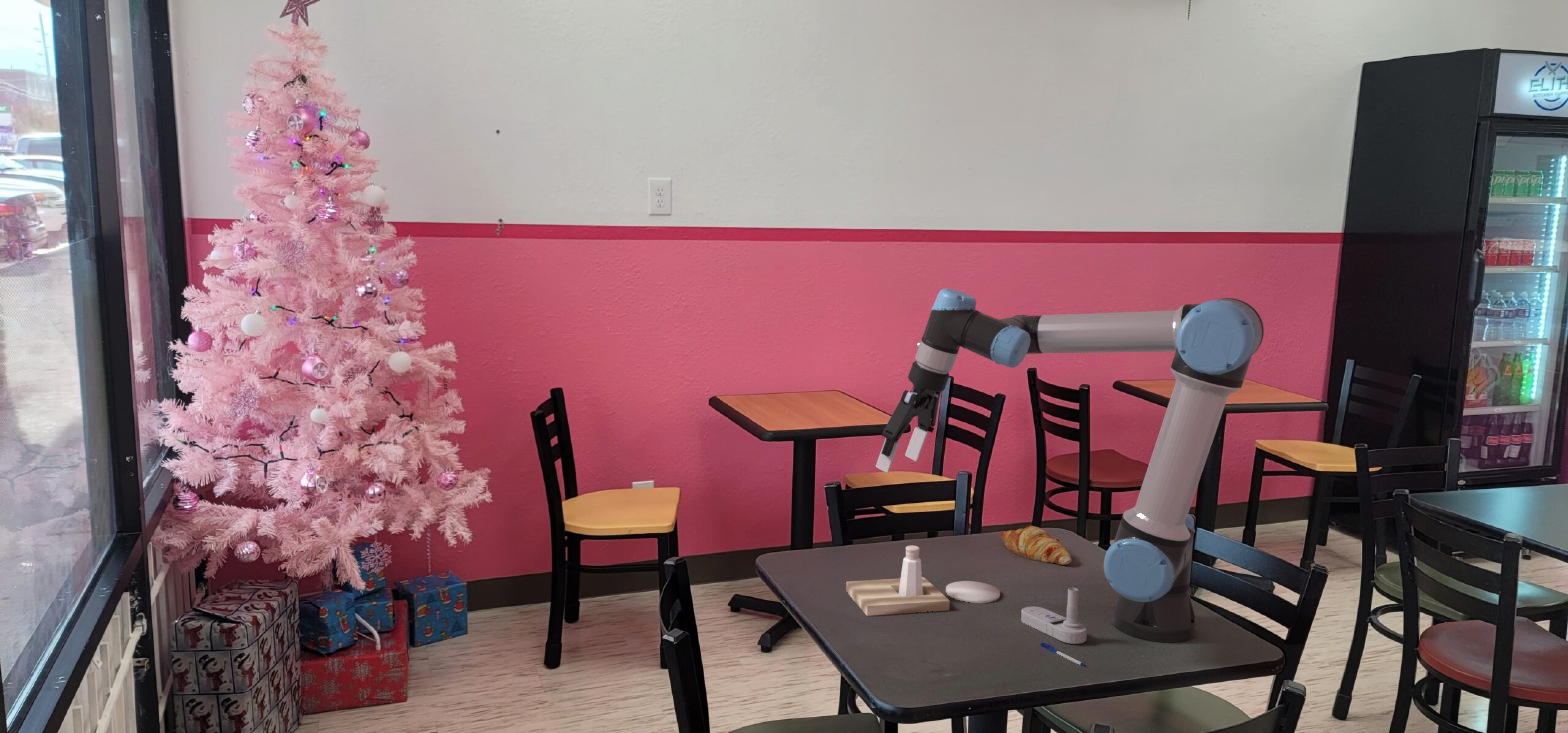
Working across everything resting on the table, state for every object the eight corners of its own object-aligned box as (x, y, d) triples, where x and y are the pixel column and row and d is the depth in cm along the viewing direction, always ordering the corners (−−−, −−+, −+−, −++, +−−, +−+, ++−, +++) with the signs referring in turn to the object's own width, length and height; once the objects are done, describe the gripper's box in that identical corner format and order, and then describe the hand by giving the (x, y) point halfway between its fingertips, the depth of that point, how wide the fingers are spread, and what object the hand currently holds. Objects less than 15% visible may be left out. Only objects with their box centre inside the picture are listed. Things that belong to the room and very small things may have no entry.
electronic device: (1037, 569, 200) (1094, 591, 186) (1036, 617, 201) (1092, 643, 188) (1016, 573, 197) (1072, 595, 184) (1015, 622, 198) (1070, 648, 185)
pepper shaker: (903, 605, 204) (905, 552, 202) (893, 596, 209) (895, 543, 208) (928, 603, 205) (930, 550, 204) (917, 594, 210) (919, 542, 209)
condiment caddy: (949, 610, 202) (949, 600, 201) (867, 615, 198) (867, 606, 197) (923, 586, 215) (923, 577, 215) (846, 591, 211) (846, 581, 211)
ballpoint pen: (1038, 647, 185) (1038, 641, 185) (1042, 646, 186) (1042, 641, 186) (1083, 668, 177) (1084, 662, 177) (1087, 667, 177) (1087, 662, 177)
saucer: (1009, 601, 207) (1009, 597, 207) (958, 605, 205) (958, 601, 205) (986, 583, 218) (986, 579, 218) (937, 586, 215) (937, 582, 215)
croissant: (1077, 580, 232) (1090, 548, 233) (1053, 567, 226) (1066, 533, 227) (1006, 553, 249) (1019, 523, 250) (982, 540, 243) (995, 509, 244)
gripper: (940, 354, 212) (907, 446, 217) (887, 364, 190) (852, 466, 196) (972, 368, 208) (937, 461, 214) (922, 380, 187) (885, 483, 193)
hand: (896, 463), depth 205 cm, fingers open, 13 cm apart
